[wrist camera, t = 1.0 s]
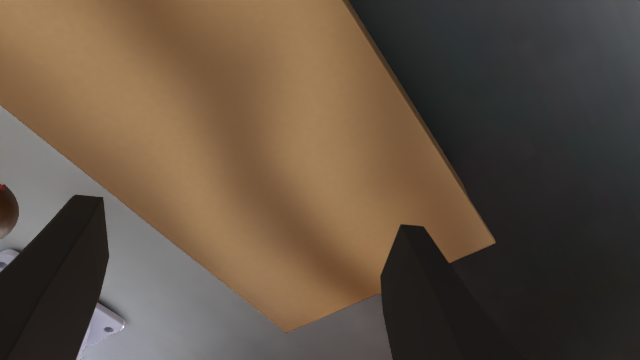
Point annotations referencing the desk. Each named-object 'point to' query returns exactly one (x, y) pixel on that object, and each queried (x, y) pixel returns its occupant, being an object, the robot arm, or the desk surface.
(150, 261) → the desk surface
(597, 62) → the desk surface
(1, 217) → the toy figure
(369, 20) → the desk surface
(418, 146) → the low cabinet
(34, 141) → the desk surface
